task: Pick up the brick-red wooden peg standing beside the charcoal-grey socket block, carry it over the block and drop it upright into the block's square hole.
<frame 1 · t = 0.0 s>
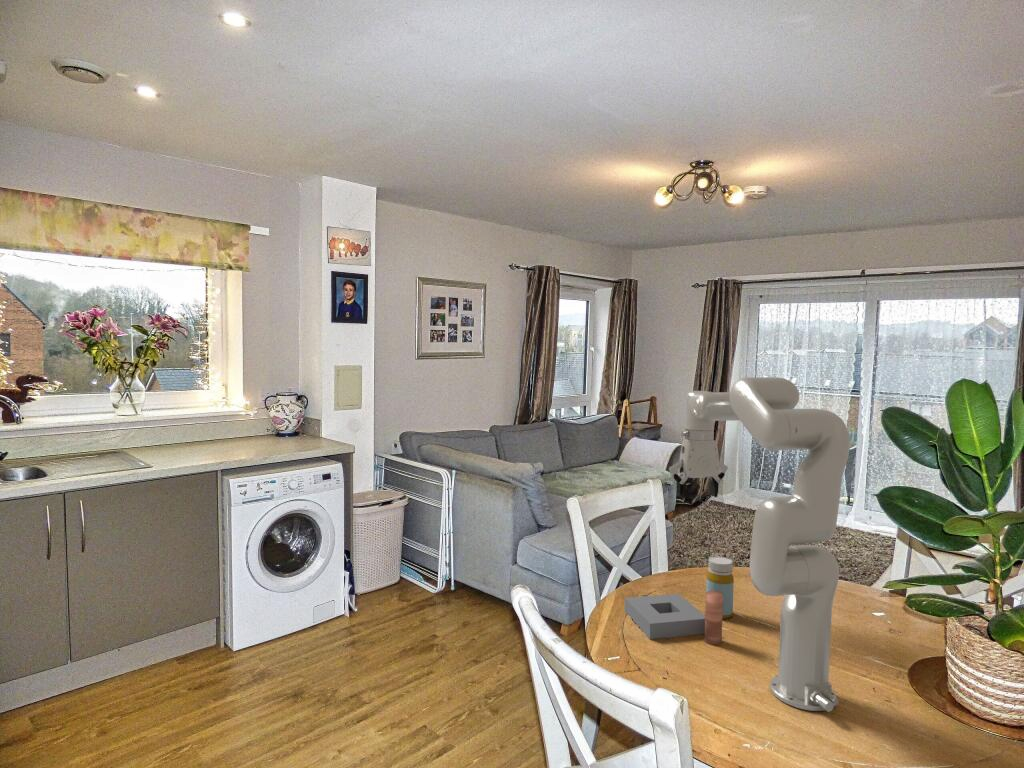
hand: (697, 496, 171), 31 cm above the table, tool pointing down, fingers open, 9 cm apart
peg: (713, 641, 152), on the table
bottle: (718, 614, 168), on the table
socket block: (664, 622, 162), on the table
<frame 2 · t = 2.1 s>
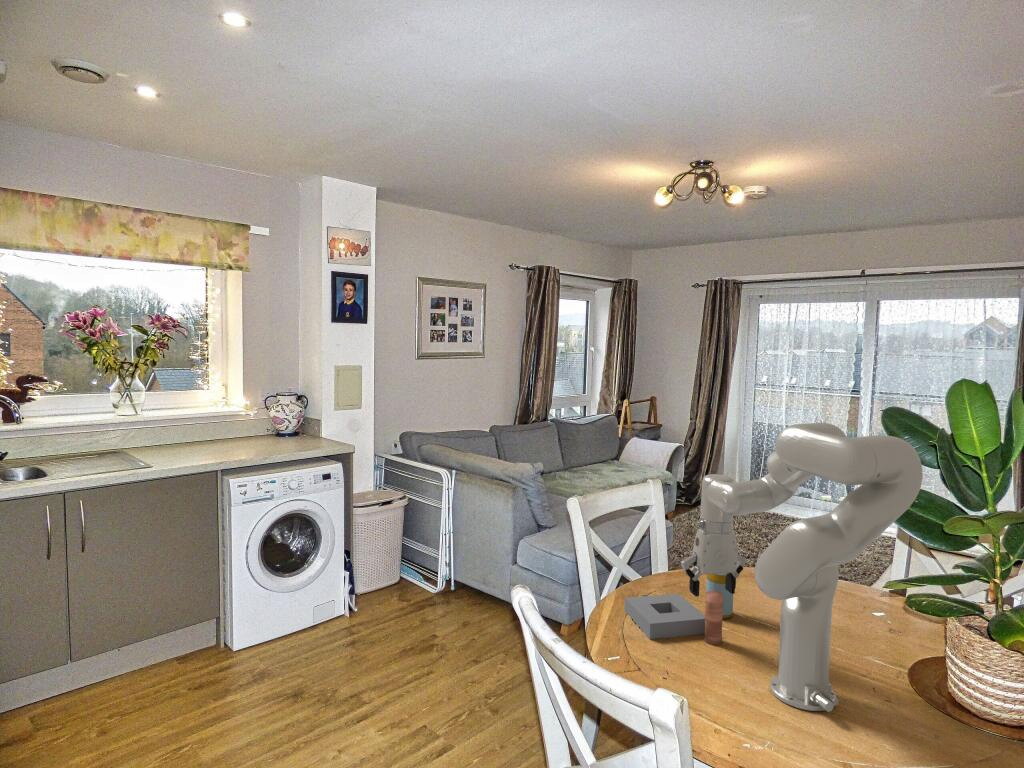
hand: (712, 592, 152), 12 cm above the table, tool pointing down, fingers open, 9 cm apart
nothing on the table moved.
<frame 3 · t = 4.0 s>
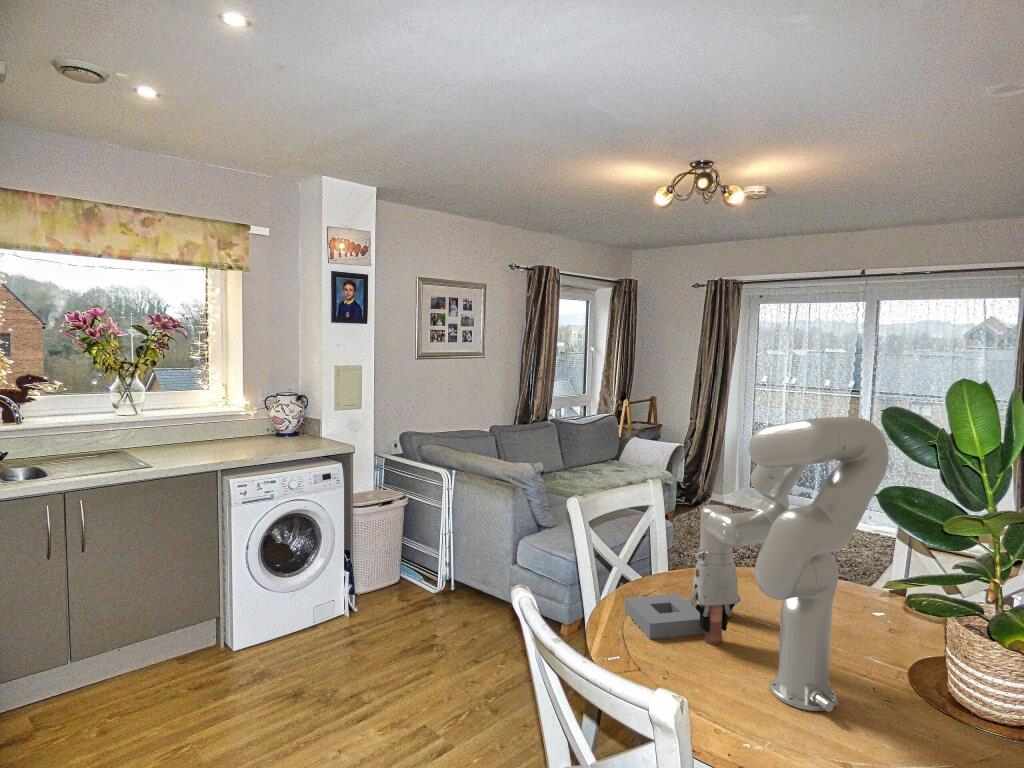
hand: (713, 628, 152), 3 cm above the table, tool pointing down, fingers closed on peg, 4 cm apart
peg: (712, 641, 152), on the table, touching gripper
everything else where it was.
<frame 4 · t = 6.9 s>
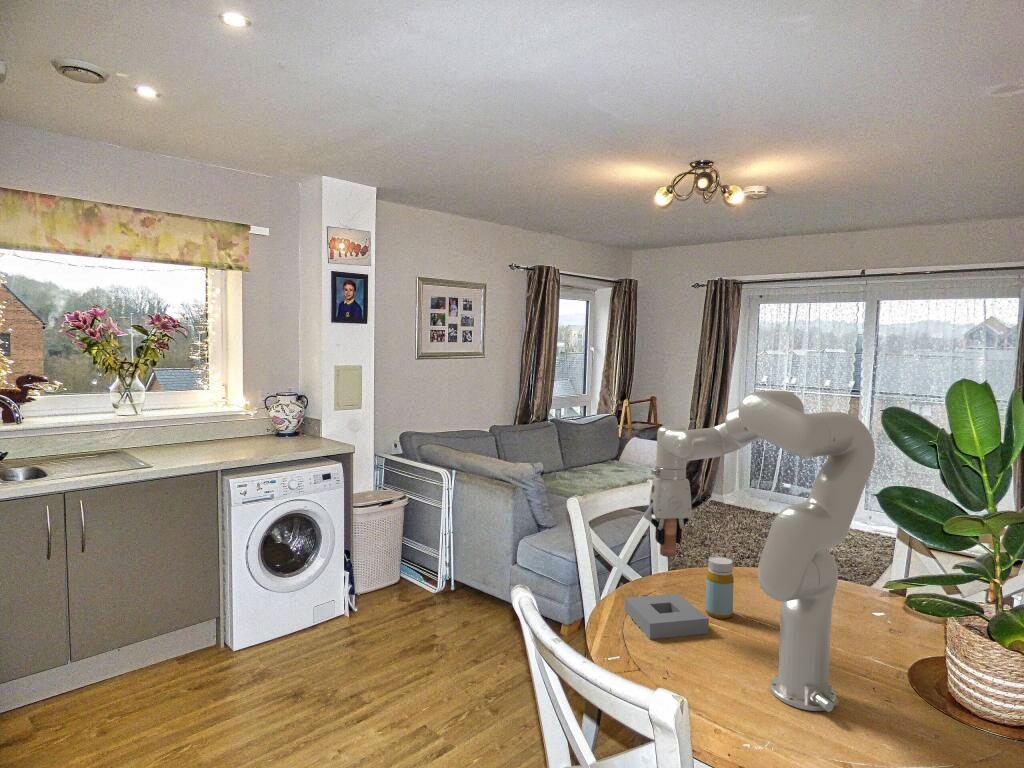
hand: (668, 542, 161), 22 cm above the table, tool pointing down, fingers closed on peg, 4 cm apart
peg: (667, 554, 161), point 18 cm above the table, touching gripper
everything else where it was.
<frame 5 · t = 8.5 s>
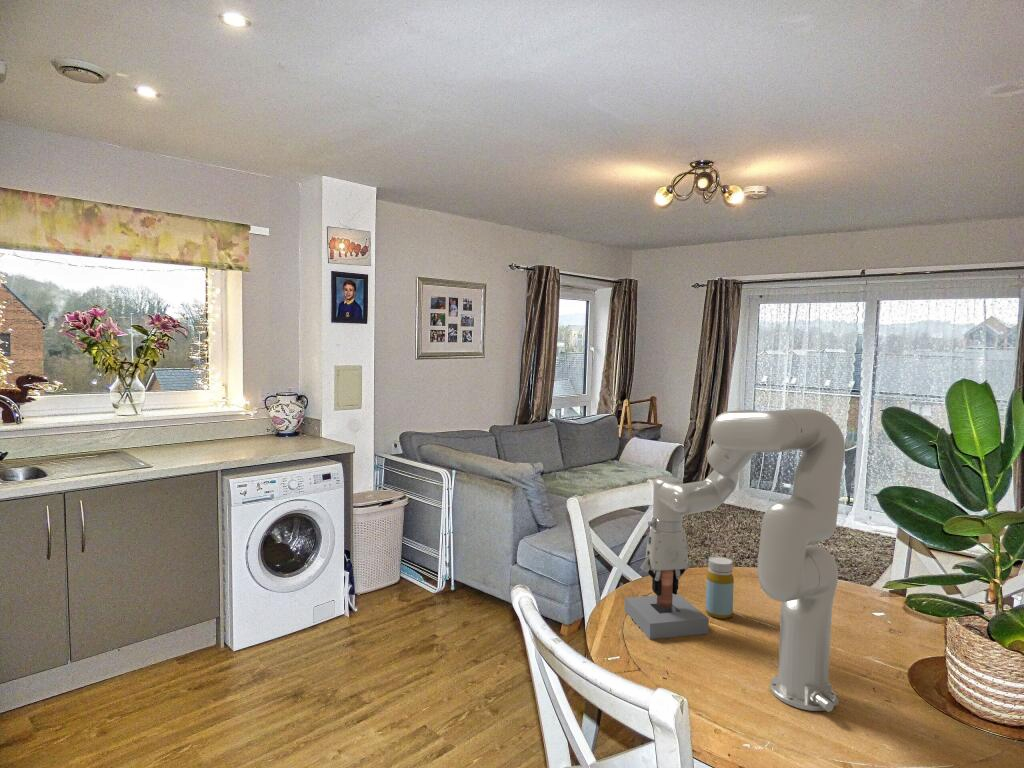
hand: (665, 592, 162), 8 cm above the table, tool pointing down, fingers closed on peg, 4 cm apart
peg: (664, 604, 162), point 5 cm above the table, touching gripper
everything else where it was.
when the fingers open (5 cm above the table, at t = 9.9 s): peg drops 1 cm, resting in socket block.
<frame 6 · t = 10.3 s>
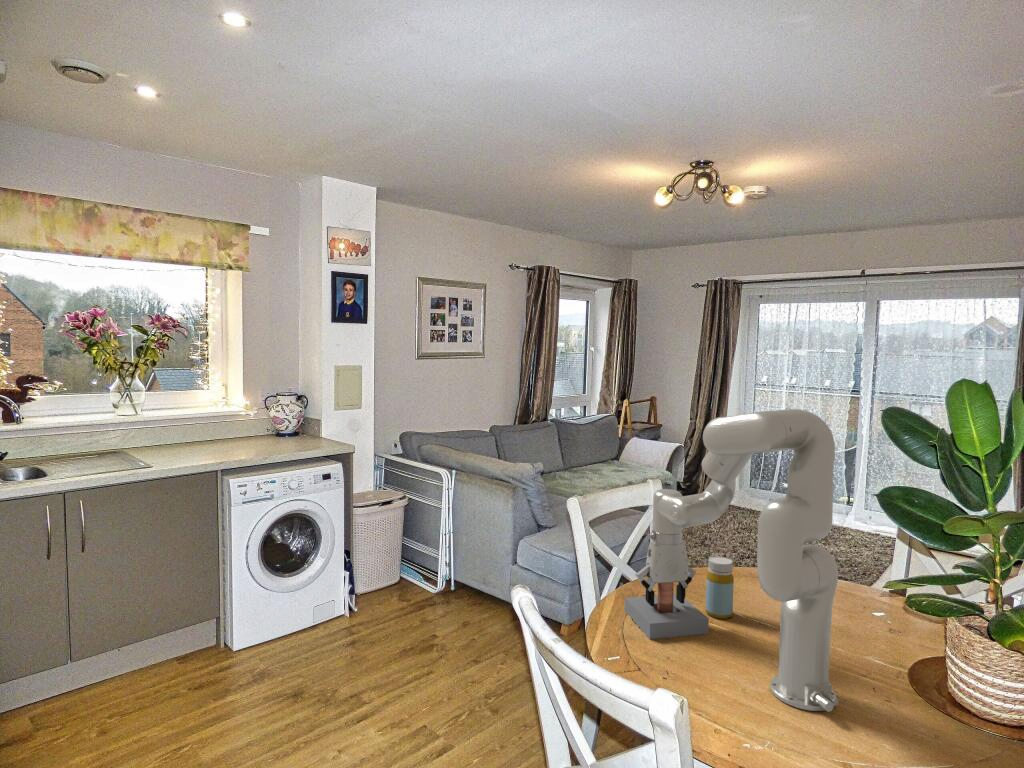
hand: (665, 602, 162), 5 cm above the table, tool pointing down, fingers open, 8 cm apart
peg: (665, 622, 162), resting in socket block
everything else where it was.
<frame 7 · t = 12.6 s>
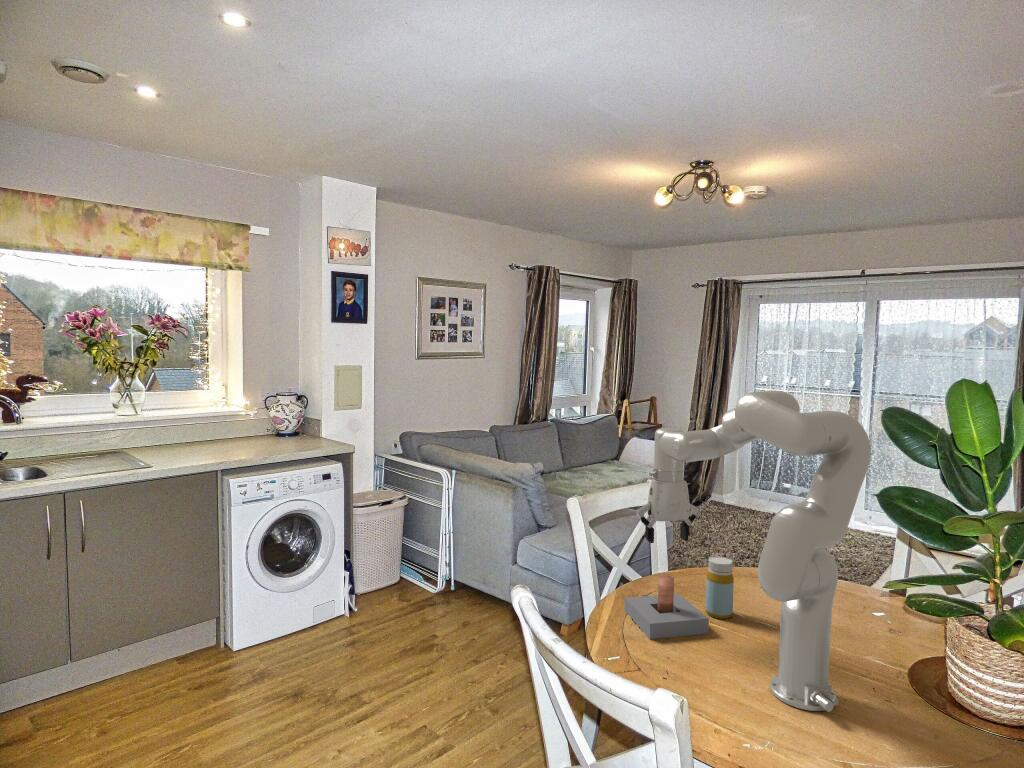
hand: (667, 540, 161), 22 cm above the table, tool pointing down, fingers open, 9 cm apart
nothing on the table moved.
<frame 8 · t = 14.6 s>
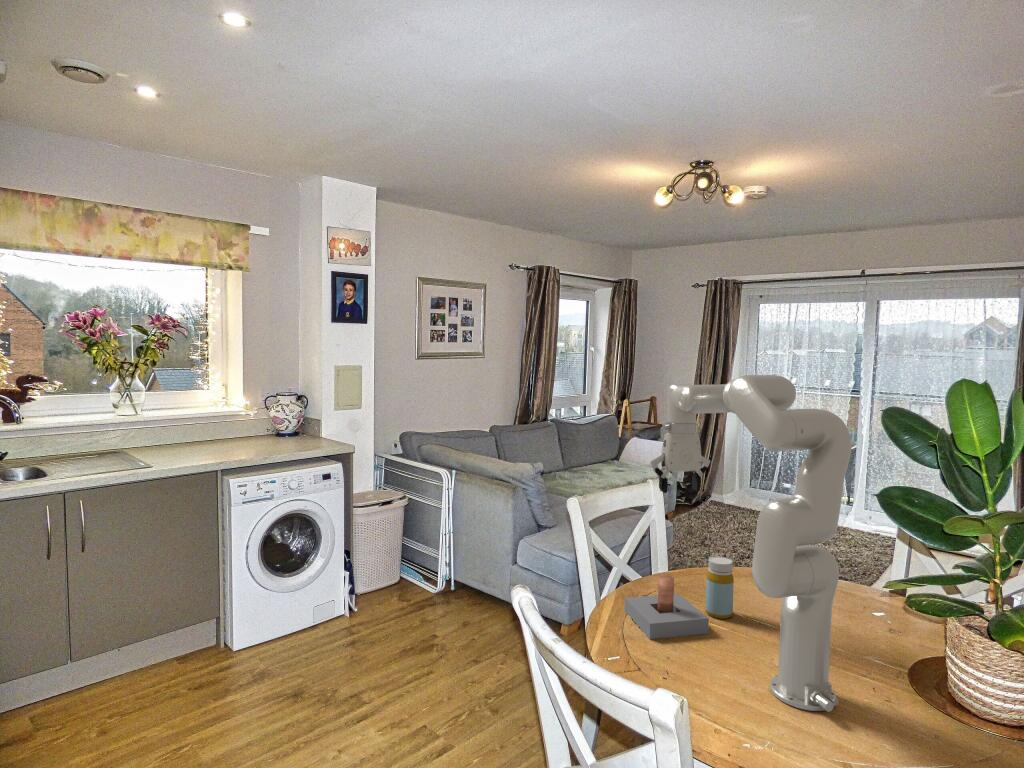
hand: (679, 490, 169), 33 cm above the table, tool pointing down, fingers open, 9 cm apart
nothing on the table moved.
at the end: peg 0.1 cm off-centre on the socket block, point 0.0 cm above the socket block's base; peg tilted 0°; the gripper is holding nothing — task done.
